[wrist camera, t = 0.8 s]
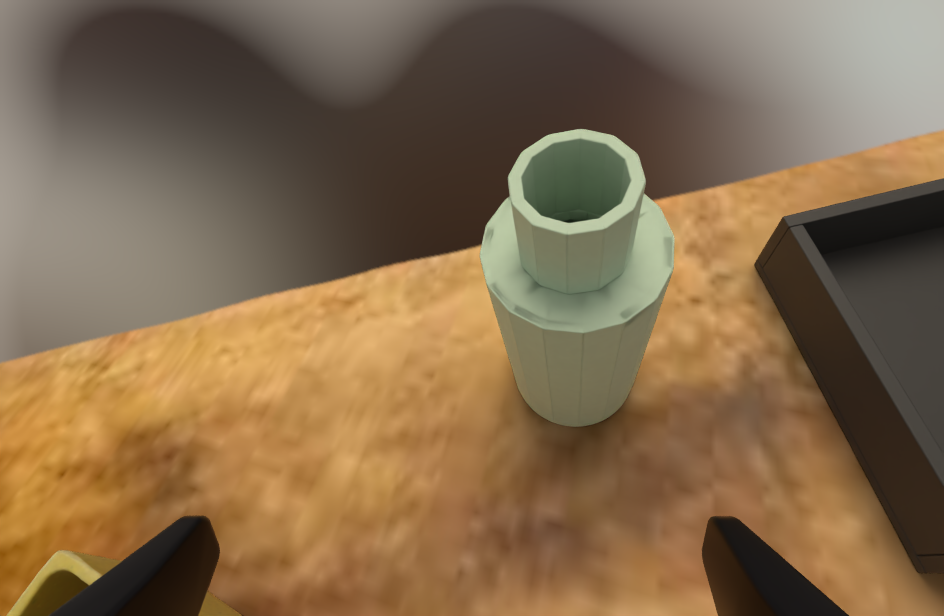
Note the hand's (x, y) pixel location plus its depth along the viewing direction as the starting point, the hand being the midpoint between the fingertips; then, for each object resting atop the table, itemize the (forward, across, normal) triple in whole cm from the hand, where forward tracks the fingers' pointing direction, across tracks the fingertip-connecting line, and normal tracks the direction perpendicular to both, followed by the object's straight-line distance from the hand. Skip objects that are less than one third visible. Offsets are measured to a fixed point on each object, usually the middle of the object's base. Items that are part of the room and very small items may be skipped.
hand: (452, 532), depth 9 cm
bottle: (+15, -4, +6) cm, 17 cm away
